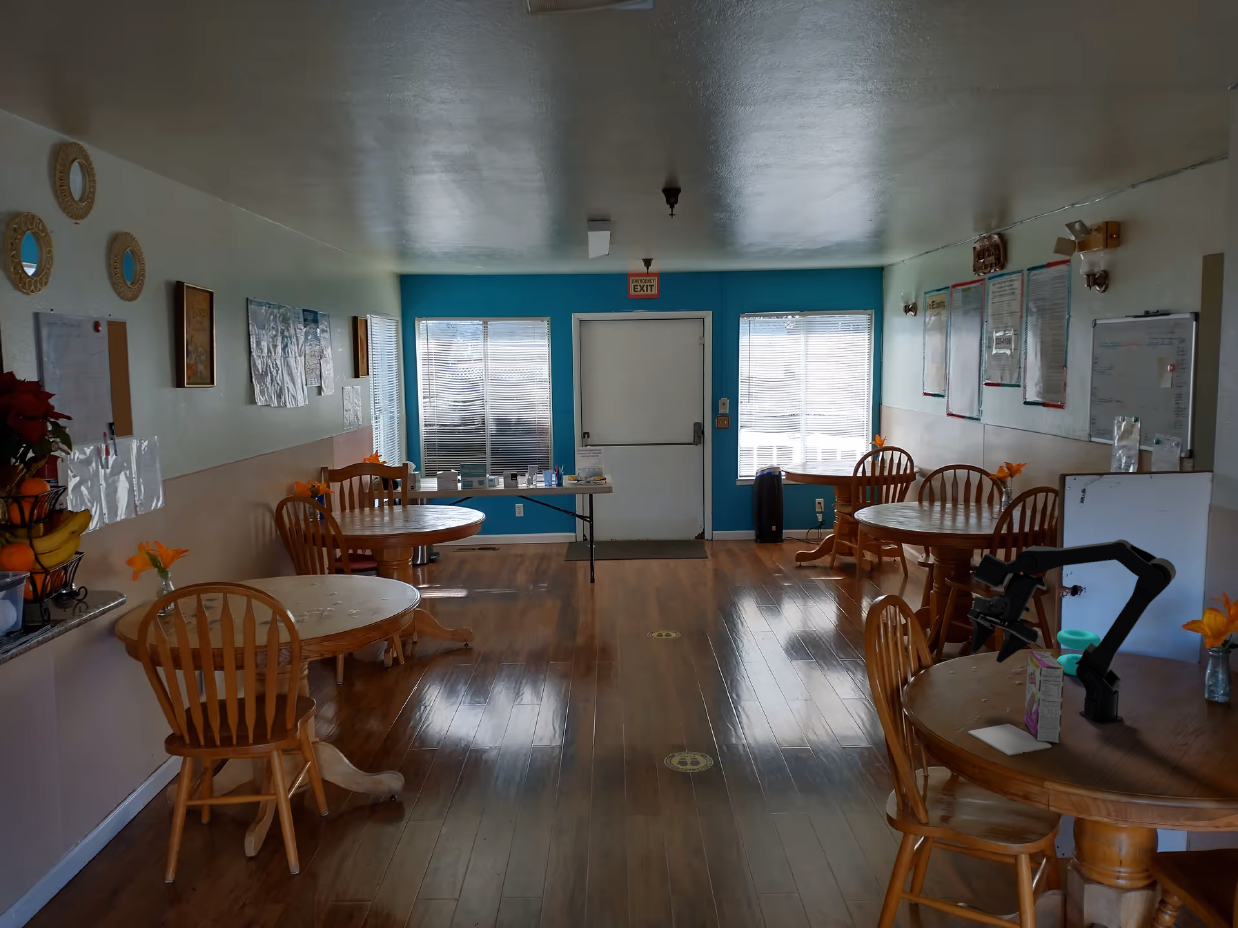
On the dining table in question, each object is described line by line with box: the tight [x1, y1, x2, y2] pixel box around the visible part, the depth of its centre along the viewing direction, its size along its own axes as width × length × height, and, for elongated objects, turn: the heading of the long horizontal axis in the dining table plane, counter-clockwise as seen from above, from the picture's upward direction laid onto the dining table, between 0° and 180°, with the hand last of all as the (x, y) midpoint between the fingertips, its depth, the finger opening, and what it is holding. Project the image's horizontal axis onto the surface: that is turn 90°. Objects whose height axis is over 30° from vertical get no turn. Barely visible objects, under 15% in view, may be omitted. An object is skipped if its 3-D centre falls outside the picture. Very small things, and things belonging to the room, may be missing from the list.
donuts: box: [1056, 628, 1102, 677], centre depth 230 cm, size 10×10×10 cm
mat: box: [967, 723, 1052, 756], centre depth 191 cm, size 11×12×1 cm
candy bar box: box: [1023, 650, 1065, 744], centre depth 193 cm, size 11×5×16 cm, turn 168°
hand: (985, 656), depth 208 cm, fingers open, 9 cm apart
